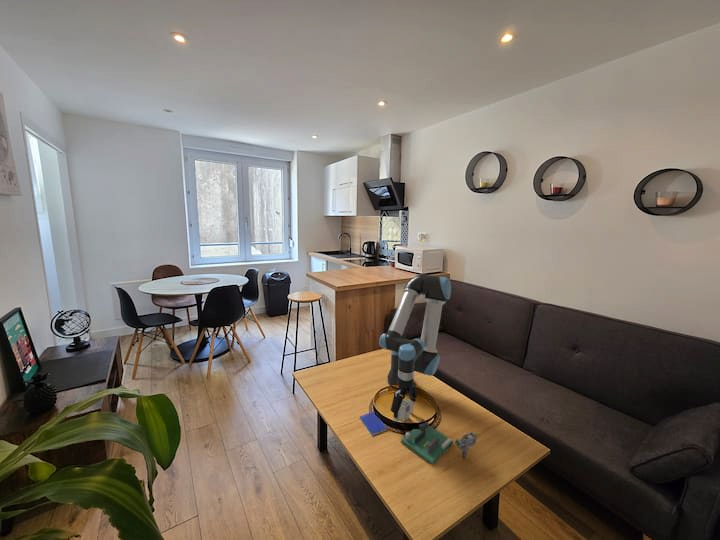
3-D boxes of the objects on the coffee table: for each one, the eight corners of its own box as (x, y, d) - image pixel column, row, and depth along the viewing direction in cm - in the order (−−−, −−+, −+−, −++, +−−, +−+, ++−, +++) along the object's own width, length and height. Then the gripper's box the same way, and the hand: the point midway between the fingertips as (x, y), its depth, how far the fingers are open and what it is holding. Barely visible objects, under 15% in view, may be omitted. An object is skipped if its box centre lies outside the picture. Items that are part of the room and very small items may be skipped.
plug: (402, 413, 151) (403, 398, 149) (410, 418, 148) (411, 403, 146) (397, 417, 148) (398, 402, 146) (405, 422, 145) (406, 407, 143)
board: (422, 424, 144) (422, 416, 143) (452, 443, 133) (453, 435, 131) (401, 442, 133) (401, 433, 132) (432, 465, 122) (432, 456, 121)
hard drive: (359, 416, 147) (371, 433, 136) (374, 411, 151) (387, 427, 140) (359, 419, 147) (371, 436, 137) (374, 413, 151) (387, 430, 140)
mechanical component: (451, 458, 125) (454, 438, 123) (471, 451, 129) (473, 431, 126) (456, 464, 122) (459, 444, 120) (476, 456, 126) (478, 436, 124)
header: (424, 435, 135) (424, 427, 134) (438, 444, 130) (439, 437, 129) (414, 443, 131) (415, 435, 130) (429, 453, 125) (429, 445, 124)
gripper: (413, 364, 153) (411, 402, 158) (383, 383, 138) (382, 424, 143) (426, 371, 148) (423, 410, 153) (396, 390, 132) (394, 433, 138)
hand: (403, 417), depth 148 cm, fingers open, 10 cm apart
